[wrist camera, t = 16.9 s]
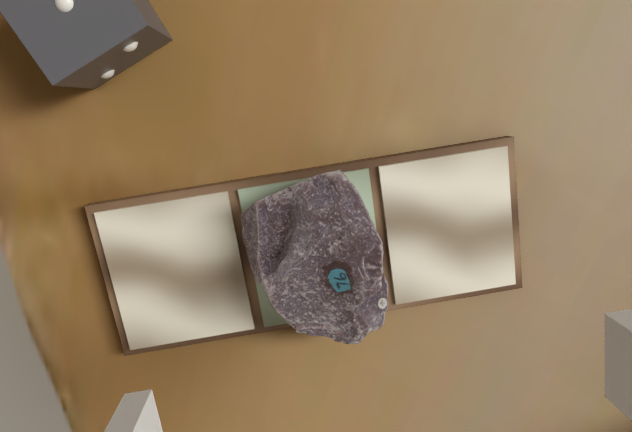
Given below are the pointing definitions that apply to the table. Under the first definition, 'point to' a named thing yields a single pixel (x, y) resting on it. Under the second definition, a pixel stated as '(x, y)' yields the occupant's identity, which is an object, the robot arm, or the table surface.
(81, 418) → the table surface
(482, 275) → the board
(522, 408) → the table surface
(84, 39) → the die
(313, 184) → the rock
